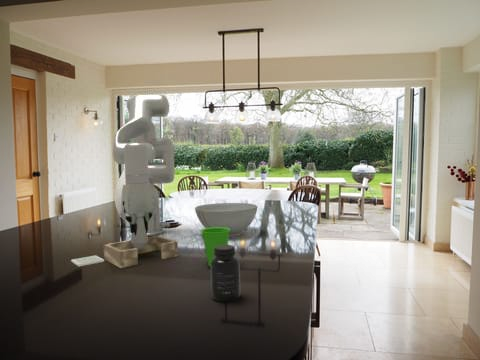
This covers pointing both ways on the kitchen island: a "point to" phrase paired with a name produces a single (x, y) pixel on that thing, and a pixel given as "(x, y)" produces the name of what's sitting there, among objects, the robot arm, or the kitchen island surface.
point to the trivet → (87, 260)
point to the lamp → (120, 194)
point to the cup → (214, 240)
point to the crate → (138, 251)
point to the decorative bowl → (227, 216)
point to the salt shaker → (139, 233)
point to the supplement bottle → (225, 274)
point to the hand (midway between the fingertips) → (139, 233)
